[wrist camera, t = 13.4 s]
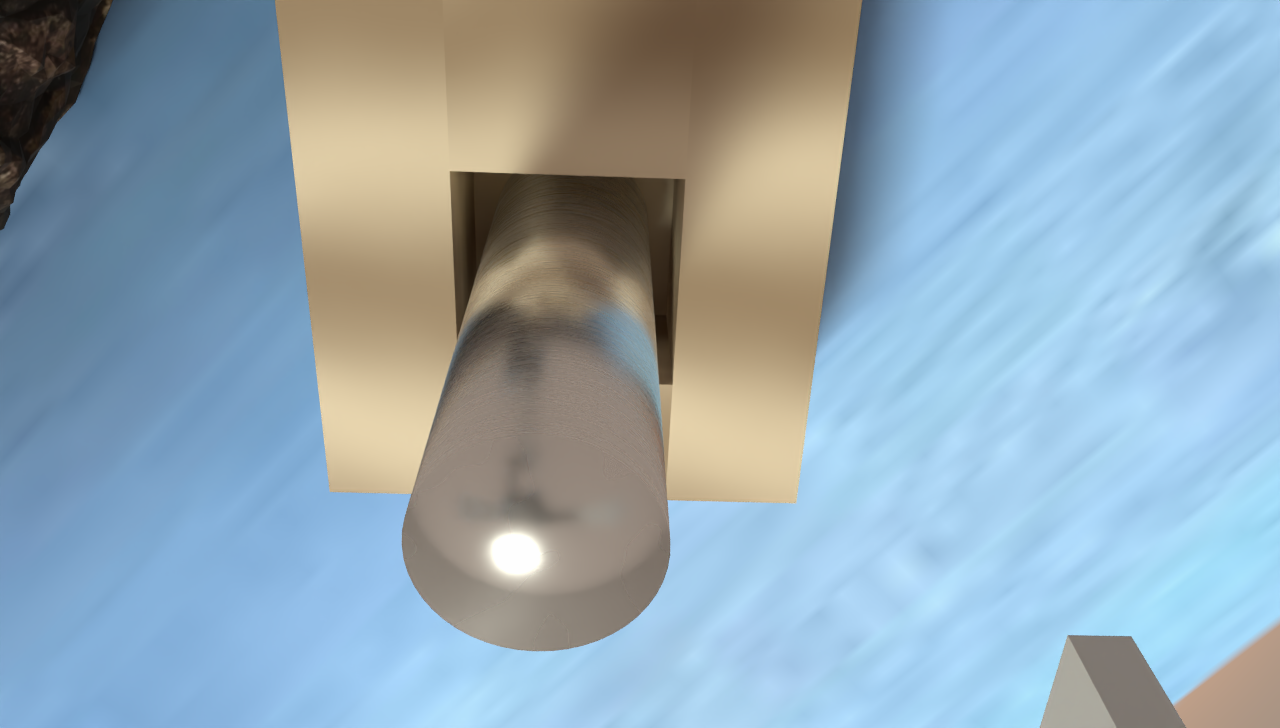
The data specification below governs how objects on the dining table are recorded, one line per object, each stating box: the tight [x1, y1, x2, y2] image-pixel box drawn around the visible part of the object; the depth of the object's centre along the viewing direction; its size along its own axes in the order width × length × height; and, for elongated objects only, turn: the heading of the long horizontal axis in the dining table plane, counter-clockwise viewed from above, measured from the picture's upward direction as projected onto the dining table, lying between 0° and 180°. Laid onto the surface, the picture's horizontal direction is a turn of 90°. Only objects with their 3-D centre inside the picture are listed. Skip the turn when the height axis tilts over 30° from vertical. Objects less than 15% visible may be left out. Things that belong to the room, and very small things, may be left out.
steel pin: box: [402, 173, 670, 651], centre depth 22 cm, size 4×4×14 cm
